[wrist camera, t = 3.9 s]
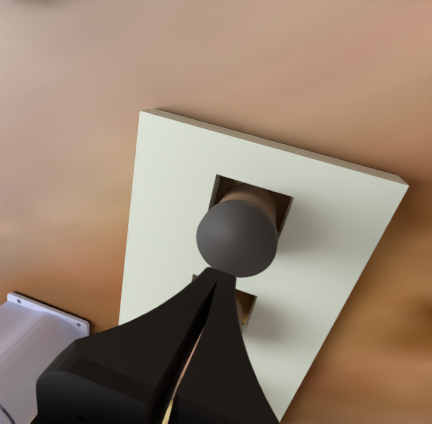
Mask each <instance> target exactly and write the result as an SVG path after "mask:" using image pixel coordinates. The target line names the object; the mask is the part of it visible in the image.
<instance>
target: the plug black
mask: <svg viewBox="0 0 432 424" xmlns="http://www.w3.org/2000/svg"><path fill="white" fill-rule="evenodd" d="M276 217H277V205H276V202H275V200H274V198H273V196H272V195H271V194H270V193H269V192H268V191H267V190H266V189H265V188H261V187H258V186H255V185H251V184H248V183H243V184H238V185H236V186H234V187H232V188H230V189H229V190H228V191H227V192H226V193H225V195H224V196H223V198H222V199H221V201H220V202H219V203H218V204H216V205H215V206H213V207H212V208H211V209H209V211H208V212H207V213H206V214H205V216H204V217H203V218H202V220H201V221H200V223H199V225H198V228H197V233H196V242H197V247H198V250H199V252H200V254H201V256H202V257H203V259H204V260H205V261H206V263H207V264H208V265H209V266H211V267H212V268H214V269H217V270H220V271H223V272H226V273H229V274H232V275H235V276H236V278H246V277H251V276H255V275H257V274H260V273H261V272H263V271H264V270H266V269H267V268H268V267H269V266H270V265H271V263H272V262H273V260H274V258H275V255H276V252H277V245H278V233H277V229H276V226H275V223H276Z"/></svg>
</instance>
